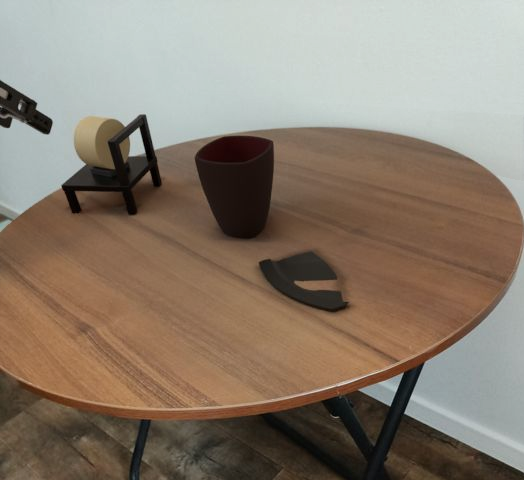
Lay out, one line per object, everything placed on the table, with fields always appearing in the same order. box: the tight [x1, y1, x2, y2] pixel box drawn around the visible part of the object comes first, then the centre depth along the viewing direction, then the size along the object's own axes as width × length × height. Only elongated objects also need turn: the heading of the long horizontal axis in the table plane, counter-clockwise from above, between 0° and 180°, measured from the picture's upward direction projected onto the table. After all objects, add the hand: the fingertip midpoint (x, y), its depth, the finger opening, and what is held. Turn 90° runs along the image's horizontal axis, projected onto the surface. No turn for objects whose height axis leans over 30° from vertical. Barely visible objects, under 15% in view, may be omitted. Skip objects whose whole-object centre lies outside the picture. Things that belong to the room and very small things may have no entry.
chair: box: [60, 113, 163, 216], centre depth 87 cm, size 12×12×12 cm
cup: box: [194, 135, 275, 239], centre depth 76 cm, size 10×14×12 cm
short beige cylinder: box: [73, 115, 131, 177], centre depth 85 cm, size 5×8×8 cm, turn 149°
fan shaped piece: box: [258, 251, 350, 313], centre depth 64 cm, size 8×14×2 cm, turn 21°
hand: (29, 124), depth 73 cm, fingers open, 8 cm apart
